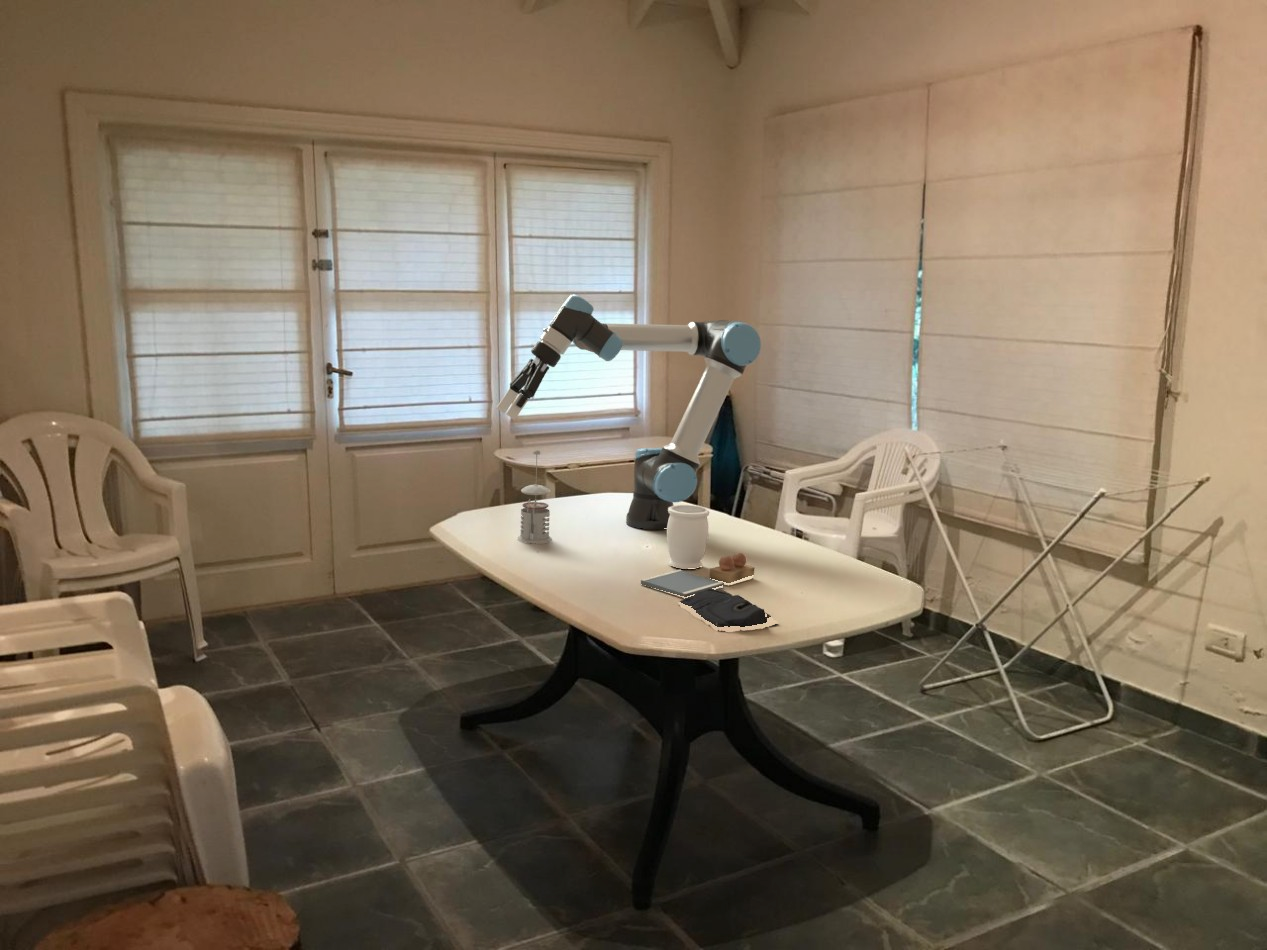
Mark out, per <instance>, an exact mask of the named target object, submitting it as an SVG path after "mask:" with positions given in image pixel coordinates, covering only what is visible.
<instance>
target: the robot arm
mask: <svg viewBox="0 0 1267 950" xmlns="http://www.w3.org/2000/svg"><path fill="white" fill-rule="evenodd" d="M558 309H559V310H558V311H557V313H556V314H555V316H554V317H553V318H552V320H551V321H550V323H549V325H548V326H547V327H546V328H543V329H542V331H543V333H542V334H541V336H540V338H539V339H540V340H537V341H536V343H535V344H534V346H533V347H532V348H531V351H530V352H531V354H532V355H534V356H535V358H534V359H532V358H530V359H529V360H528V362H527V363H526V365H525V366H524V367H523V368H522V369H521V371H520V372H519V373H518V374H517V375H516V376H515V377H514V379H513V380H512V381H511V382H510V383H509V388H508V389H507V391H506V393H505V394H504V395H503V397H502V399H501V400H500V401H499V403H498V404H497V405H496V407H495V409H497V410H499V412H501V413H502V414H505V415H507V416H508V417H509V418H511V419H512V420H514V421H516V419H517V417H518V416H519V415H520V413H521V411H522V410H523V409H524V407H525V405H526V404H527V402H529V400H530V399H531V398H533V397H535V395H536V394H537V391H538V389H539V387H540V385H541V383H542V382H543V379H544V378H545V375H546V373H547V372H548V371H549V370H550V367H551V368H554V367H556V365H557V364H558V362H559V361H560V360H561V358H562V356H561V355H564V354H565V353H566V351H567V350H568V348H569V347H570V345H572V343H573V345H574V346H575V347H577V348H578V349H580V350H582V351H583V350H584V351H588V352H592V353H593V354H595V355H597V356H598V357H599V358H600V359H602V360H603V361H605V362H610V361H612V360H613V359H615V358H616V357H617V356H618V354H619V353H620V351H629V352H630V351H632V352H633V351H637V352H639V351H640V352H641V351H642V352H685V353H687V354H688V355H689V356H701V357H704V362H705V368H704V371H703V373H702V375H701V376H700V380H699V381H698V384H697V385H696V388H695V390H694V392H693V394H692V396H691V398H690V401H689V403H688V405H687V406H686V407H687V408H686V410H685V411H684V413H683V416H682V418H681V420H680V422H679V424H678V426H677V428H676V431H675V432H674V435H673V437H672V438H671V439H672V440H671V441H670V443H667V444H666V445H663V446H662V447H641V448H637V449H636V451H635V452H634V453H635V454H634V455H635V456H634V458H633V459H634V460H633V462H634V466H633V467H634V468H633V470H634V472H633V491H632V493H633V494H632V495H633V497H632V500H631V502H630V506H629V509H628V512H627V514H626V516H625V517H626V518H625V523H626V525H628V526H629V527H632V528H635V527H636V528H635V529H640V528H643V529H642V530H649V529H664V528H667V524H668V520H669V516H670V514H669V512H668V508H669V507H671V506H675V505H674V503H680V502H683V501H686V500H687V499H688V498H690V497H691V496H692V495H693V493H694V492H695V491H696V488H697V485H698V477H697V472H698V470H699V468H700V466H701V462H700V459H699V455H700V452H701V450H702V448H703V446H704V444H705V442H706V441H707V440H706V439H707V438H708V436H709V433H710V431H711V428H712V427H713V426H714V423H715V421H716V420H717V419H716V418H717V417H718V414H719V413H720V410H721V407H722V406H723V404H724V402H725V399H726V397H727V395H728V394H729V390H730V389H731V386H732V385H733V382H734V380H735V379H737V378H739V377H742V376H743V374H744V372H745V370H746V368H747V367H748V365H750V364H752V363H753V362H755V361H756V360H757V358H758V357H759V355H760V351H761V348H762V346H761V345H762V342H761V338H760V335H759V332H758V331H757V329H756V328H755V327H753V326H752V325H750V324H749V323H746V322H744V321H740V320H739V321H738V320H729V319H715V320H709V321H689V323H688V324H685V325H684V324H654V323H653V324H648V323H642V324H641V323H609V322H608V323H601V321H599V320H598V319H596V318H595V317H594V316H593V312H594V307H593V305H592V304H590V303H589V301H587V300H586V299H585V298H583V297H581V296H580V295H578V294H570V295H569V296H568V298H566V300H565V301H564V302H563V303H562V305H560V308H558ZM664 530H665V529H664Z"/></svg>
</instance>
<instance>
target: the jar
mask: <svg viewBox="0 0 1267 950" xmlns="http://www.w3.org/2000/svg"><path fill="white" fill-rule="evenodd" d="M668 512H669V514H670V516H669V520H668V524H667V529H666V541H667V549H668V554H669V557H670V558H671V559H670V561H669V563H668V565H669V566H670V567H671V566H673V567H676V568H682V569H688V568H697V567H700V566H702V567H703V563H702V560H703V558H704V555H705V552H706V549H707V544H708V540H709V539H708V538H709V519H708V516H709V515H710V510H709V509H708V508H706V507H703V506H699V505H689V504H680V505H679V504H677V505H674V506H671V507H669V508H668ZM673 567H672V568H673ZM676 568H675V569H676Z"/></svg>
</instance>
